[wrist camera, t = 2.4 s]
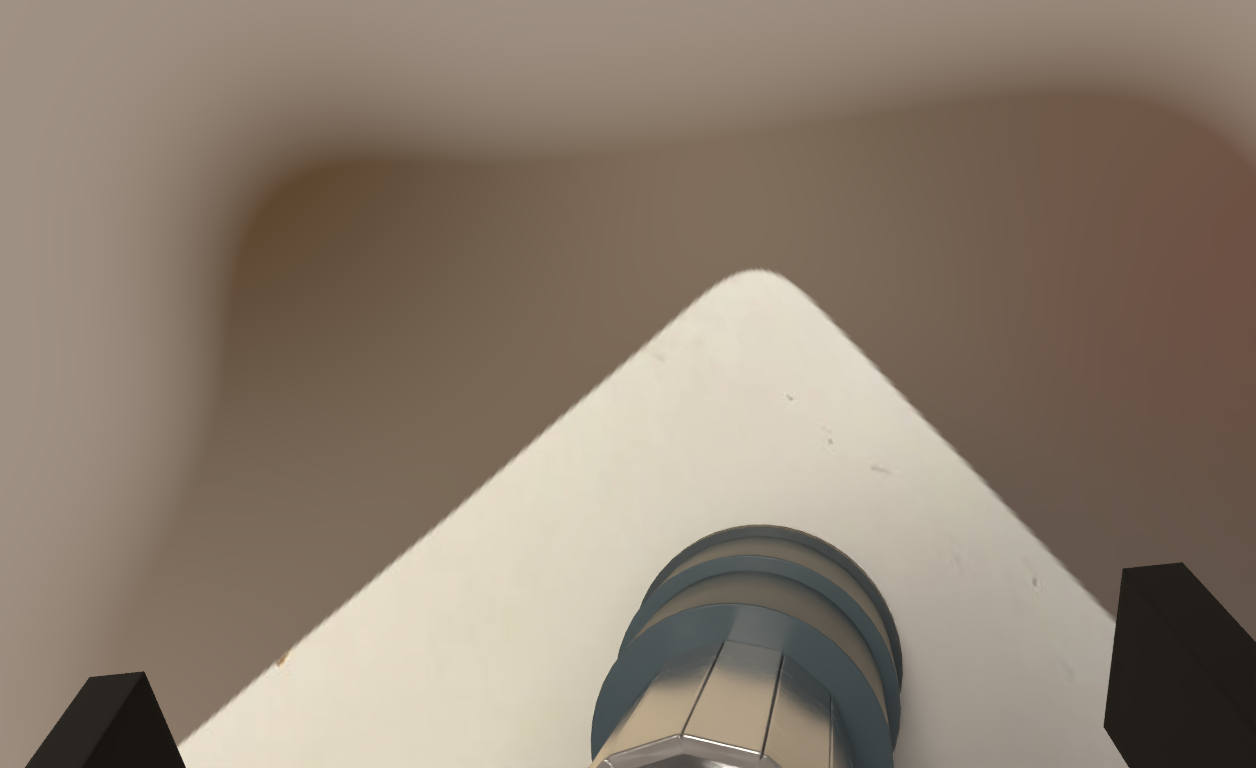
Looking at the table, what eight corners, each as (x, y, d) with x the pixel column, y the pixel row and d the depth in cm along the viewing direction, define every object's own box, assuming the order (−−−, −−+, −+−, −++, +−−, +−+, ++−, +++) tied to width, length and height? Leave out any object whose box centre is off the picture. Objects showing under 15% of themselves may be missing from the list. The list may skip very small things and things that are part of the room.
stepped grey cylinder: (743, 470, 43) (709, 498, 32) (959, 647, 41) (1008, 747, 29) (584, 665, 45) (495, 761, 33) (784, 845, 43) (764, 1016, 31)
